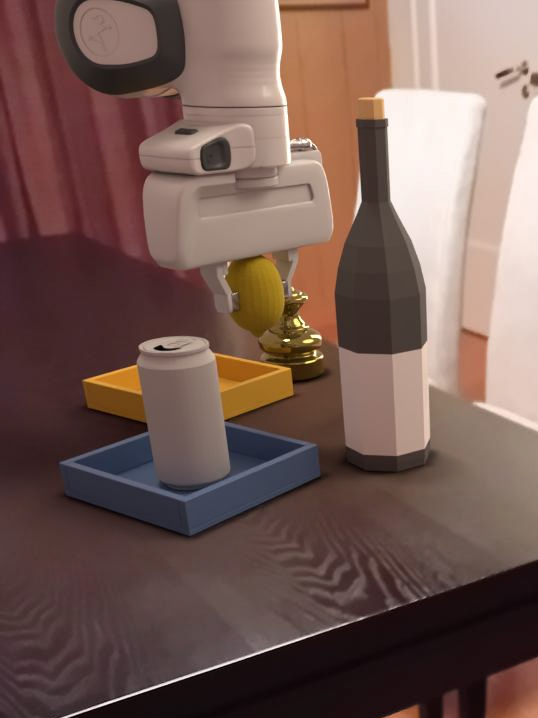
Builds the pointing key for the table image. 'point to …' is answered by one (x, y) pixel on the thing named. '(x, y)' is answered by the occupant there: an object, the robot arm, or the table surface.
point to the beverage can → (183, 411)
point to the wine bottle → (381, 319)
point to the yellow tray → (236, 381)
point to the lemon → (256, 293)
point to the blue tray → (190, 507)
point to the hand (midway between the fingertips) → (254, 305)
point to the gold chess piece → (293, 342)
